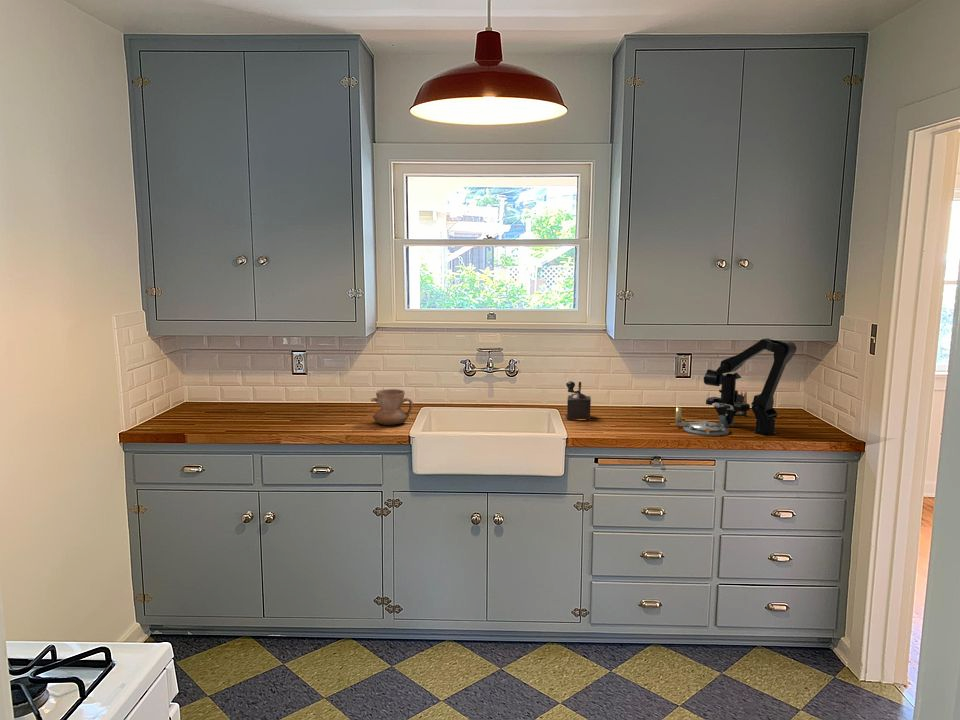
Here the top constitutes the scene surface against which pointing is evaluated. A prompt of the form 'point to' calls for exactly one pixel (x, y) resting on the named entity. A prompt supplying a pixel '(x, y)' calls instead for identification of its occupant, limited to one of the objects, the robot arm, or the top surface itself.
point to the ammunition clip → (743, 413)
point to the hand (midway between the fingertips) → (726, 423)
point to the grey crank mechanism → (698, 423)
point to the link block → (725, 420)
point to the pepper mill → (577, 403)
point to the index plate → (703, 433)
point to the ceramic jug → (391, 407)
